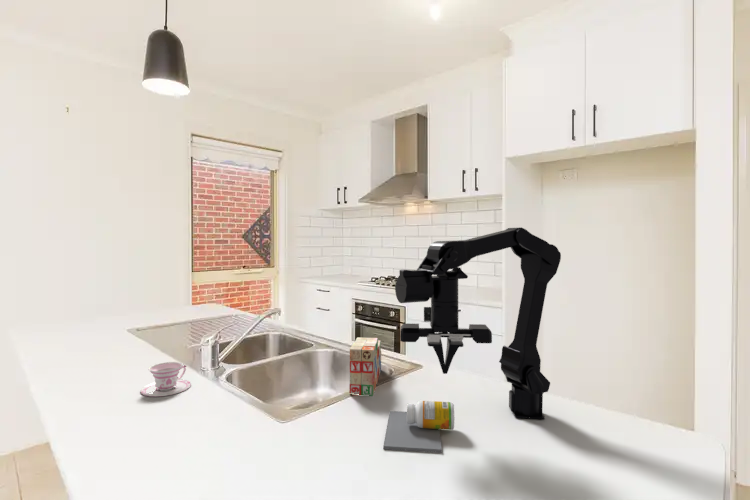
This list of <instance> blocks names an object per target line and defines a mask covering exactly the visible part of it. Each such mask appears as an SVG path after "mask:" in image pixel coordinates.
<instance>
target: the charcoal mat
mask: <svg viewBox="0 0 750 500" xmlns="http://www.w3.org/2000/svg"><path fill="white" fill-rule="evenodd" d="M440 430H441V429H429V428H419V427H418V425H417V423H414V424H407V411H401V410H400V411H399V410H397V411H396V410H389V413H388V417H387V424H386V429H385V435H384V440H383V445H382V447H383V450H393V451H406V450H407V451H408V452H409V451H410V452H422V451H425V453H441V454H442V452H443V451H442V440H441V432H440ZM407 451H406V452H407Z"/></svg>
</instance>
